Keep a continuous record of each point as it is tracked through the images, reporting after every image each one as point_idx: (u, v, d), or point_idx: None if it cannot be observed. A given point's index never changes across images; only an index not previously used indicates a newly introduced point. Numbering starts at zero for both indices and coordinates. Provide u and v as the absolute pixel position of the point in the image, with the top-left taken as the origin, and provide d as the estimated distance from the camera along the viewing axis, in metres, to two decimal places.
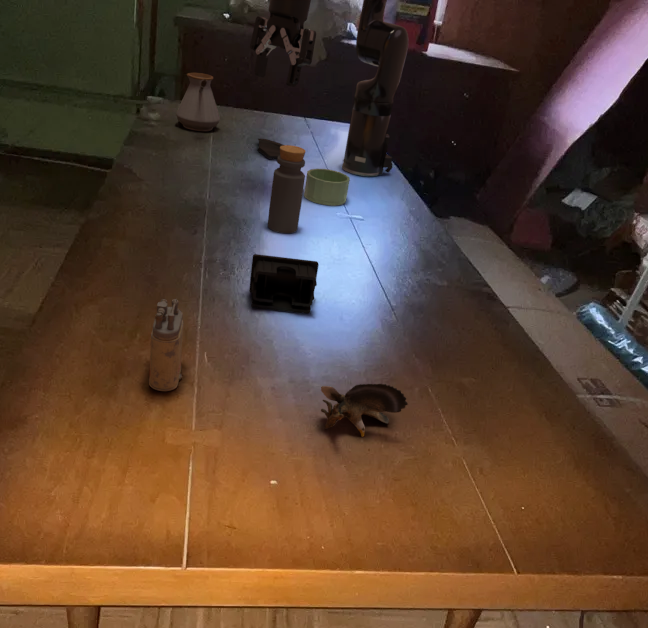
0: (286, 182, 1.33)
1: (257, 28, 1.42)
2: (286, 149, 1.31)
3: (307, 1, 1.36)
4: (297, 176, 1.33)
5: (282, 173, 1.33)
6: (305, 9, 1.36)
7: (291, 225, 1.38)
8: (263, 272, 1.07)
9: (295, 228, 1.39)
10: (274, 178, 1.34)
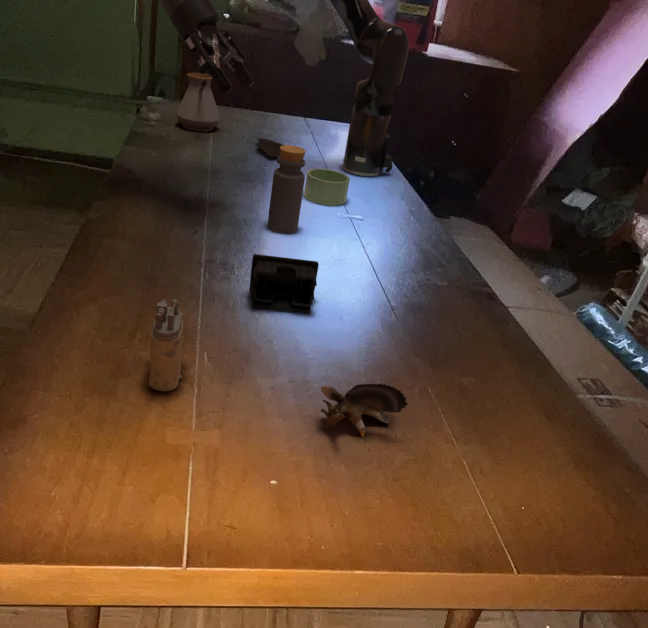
0: (286, 182, 1.33)
1: None
2: (286, 149, 1.31)
3: (182, 10, 1.24)
4: (297, 176, 1.33)
5: (282, 173, 1.33)
6: (187, 19, 1.24)
7: (291, 225, 1.38)
8: (263, 272, 1.07)
9: (295, 228, 1.39)
10: (274, 178, 1.34)
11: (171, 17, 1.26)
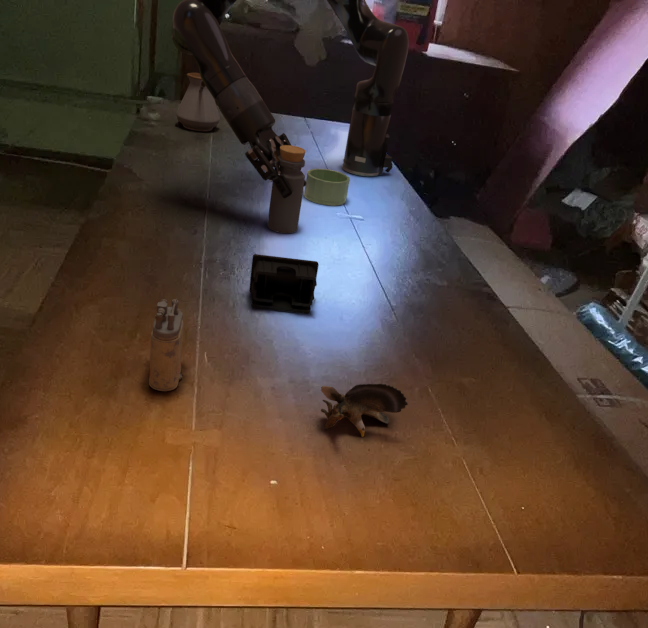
0: None
1: None
2: (286, 149, 1.31)
3: (242, 119, 1.29)
4: (297, 176, 1.33)
5: (282, 173, 1.33)
6: (246, 126, 1.30)
7: (291, 225, 1.38)
8: (263, 272, 1.07)
9: (295, 228, 1.39)
10: None
11: (230, 123, 1.31)
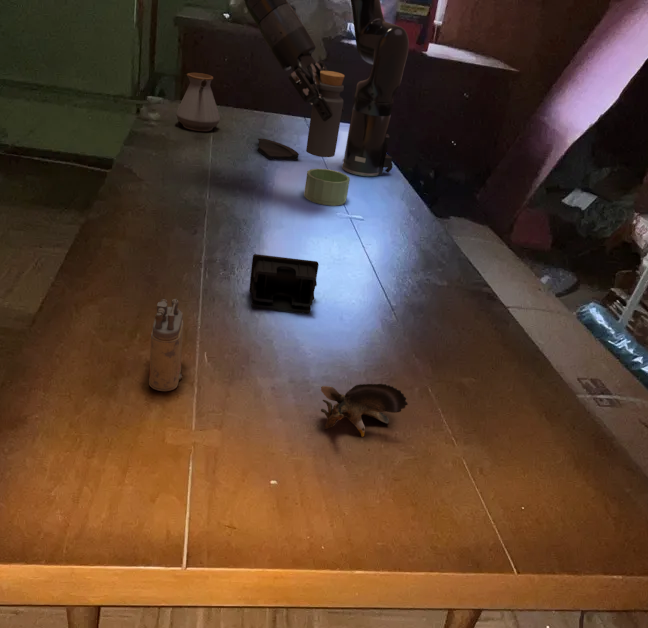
0: None
1: None
2: (326, 73, 1.37)
3: (285, 43, 1.35)
4: (336, 100, 1.39)
5: (322, 96, 1.39)
6: (288, 51, 1.36)
7: (330, 149, 1.44)
8: (263, 272, 1.07)
9: (333, 153, 1.45)
10: None
11: (273, 49, 1.37)
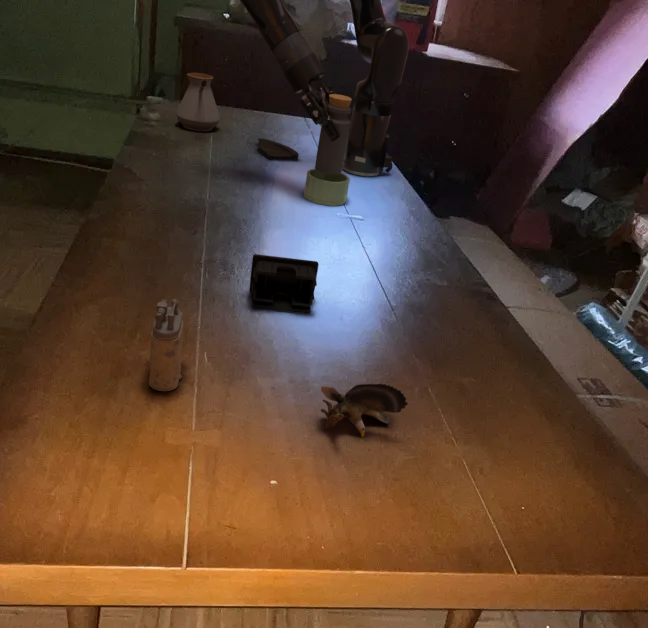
0: None
1: None
2: (335, 97, 1.47)
3: (296, 68, 1.45)
4: (344, 121, 1.48)
5: (331, 118, 1.48)
6: (300, 75, 1.45)
7: (337, 167, 1.53)
8: (263, 272, 1.07)
9: (339, 171, 1.54)
10: None
11: (285, 73, 1.47)
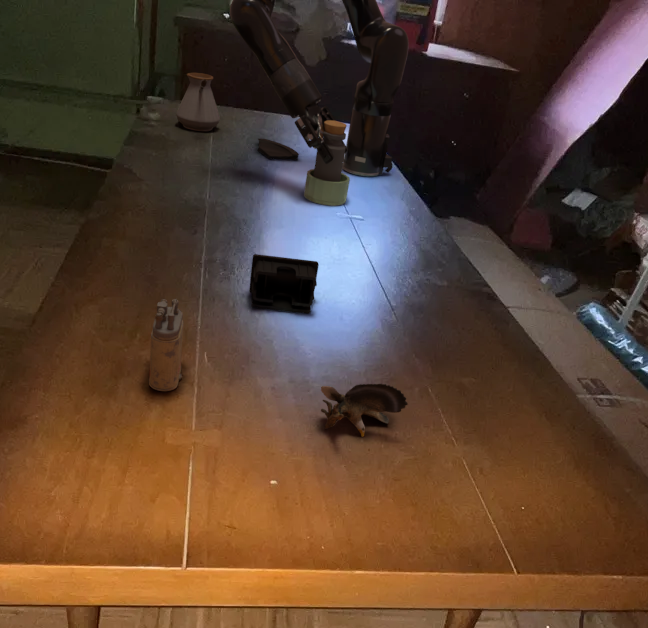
0: None
1: None
2: (330, 123, 1.49)
3: (293, 95, 1.47)
4: (339, 147, 1.51)
5: None
6: (297, 102, 1.48)
7: None
8: (263, 272, 1.07)
9: None
10: None
11: (282, 99, 1.49)
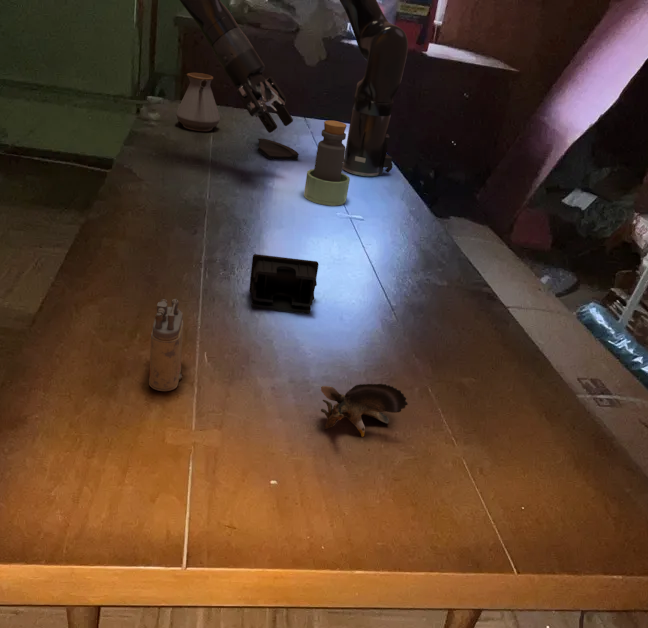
0: (329, 152, 1.51)
1: None
2: (330, 123, 1.49)
3: (235, 64, 1.49)
4: (339, 147, 1.51)
5: (326, 144, 1.51)
6: (239, 70, 1.49)
7: None
8: (263, 272, 1.07)
9: None
10: (318, 149, 1.52)
11: (225, 68, 1.51)
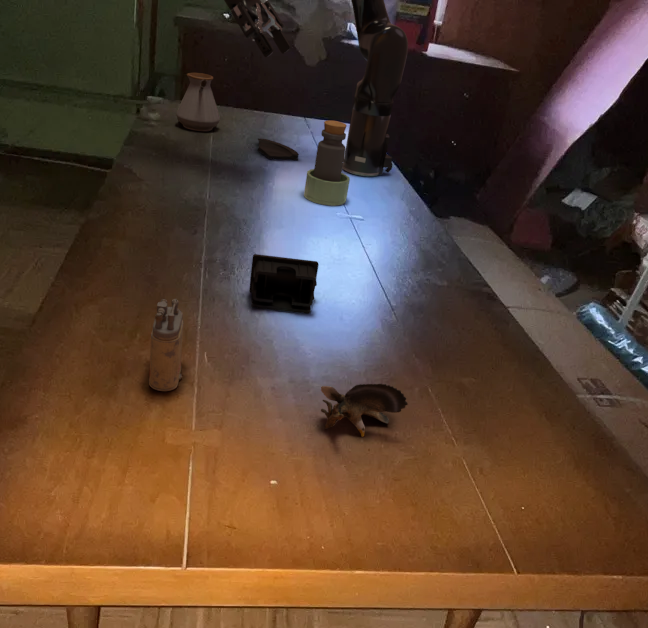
0: (329, 152, 1.51)
1: None
2: (330, 123, 1.49)
3: None
4: (339, 147, 1.51)
5: (326, 144, 1.51)
6: None
7: None
8: (263, 272, 1.07)
9: None
10: (318, 149, 1.52)
11: None
